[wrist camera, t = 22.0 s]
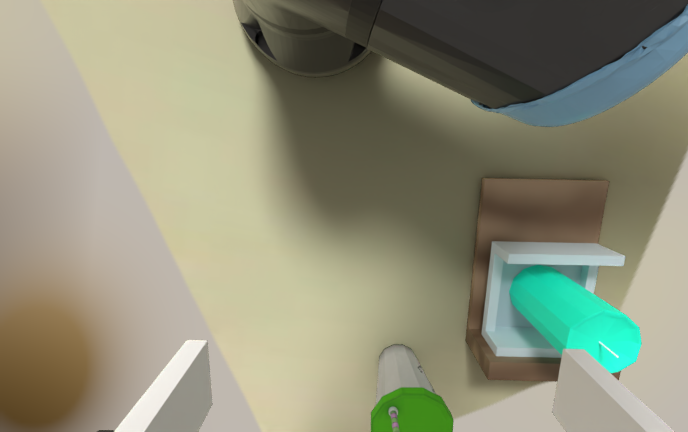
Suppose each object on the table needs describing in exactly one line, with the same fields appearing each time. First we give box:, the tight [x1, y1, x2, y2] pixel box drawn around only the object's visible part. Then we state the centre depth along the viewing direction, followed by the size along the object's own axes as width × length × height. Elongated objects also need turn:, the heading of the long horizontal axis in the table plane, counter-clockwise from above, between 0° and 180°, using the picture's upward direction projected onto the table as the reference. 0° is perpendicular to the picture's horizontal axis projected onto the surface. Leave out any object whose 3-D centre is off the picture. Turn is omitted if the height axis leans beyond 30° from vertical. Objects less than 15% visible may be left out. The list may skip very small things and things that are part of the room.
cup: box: [371, 345, 453, 432], centre depth 36 cm, size 8×8×15 cm
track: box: [466, 178, 621, 381], centre depth 37 cm, size 20×13×7 cm, turn 179°
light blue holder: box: [481, 241, 625, 358], centre depth 37 cm, size 11×11×5 cm
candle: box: [509, 265, 641, 373], centre depth 33 cm, size 6×6×12 cm
